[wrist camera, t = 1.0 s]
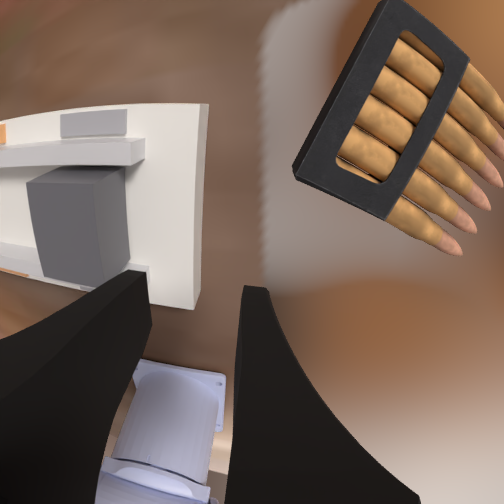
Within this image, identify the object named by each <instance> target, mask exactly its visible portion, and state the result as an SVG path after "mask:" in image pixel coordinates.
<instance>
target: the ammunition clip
mask: <svg viewBox="0 0 504 504" xmlns="http://www.w3.org/2000/svg"><path fill="white" fill-rule="evenodd" d="M469 61H470V58H469V57H468V56H467V55H466V54H465V53H464V52H463V51H462V50H461V49H460V48H459V47H458V46H457V45H456V44H455V43H454V42H453V41H451V39H449V38H448V37H447V36H446V35H445V34H444V33H443V32H442V31H441V30H439V29H438V28H437V27H436V26H435V25H434V24H433V23H431V22H430V21H429V20H428V19H426V18H425V17H424V16H423V15H422V14H420V13H419V12H418V11H417V10H415V9H414V8H413V7H411V6H410V5H409V4H408V3H406V2H405V1H403V0H382V1H380V2H379V3H378V4H377V6H376V8H375V10H374V12H373V14H372V15H371V17H370V19H369V21H368V23H367V25H366V27H365V28H364V31H363V32H362V34H361V36H360V38H359V40H358V42H357V44H356V45H355V47H354V49H353V51H352V53H351V55H350V57H349V59H348V60H347V62H346V64H345V66H344V68H343V70H342V72H341V74H340V76H339V77H338V79H337V81H336V83H335V85H334V87H333V89H332V91H331V93H330V94H329V97H328V98H327V100H326V102H325V104H324V106H323V108H322V110H321V111H320V113H319V115H318V117H317V119H316V121H315V123H314V125H313V127H312V129H311V130H310V132H309V134H308V136H307V138H306V140H305V142H304V144H303V145H302V147H301V149H300V151H299V153H298V155H297V157H296V159H295V161H294V163H293V165H292V168H293V173H294V176H295V178H296V180H298V181H300V182H302V183H305V184H307V185H309V186H311V187H314V188H316V189H318V190H320V191H323V192H325V193H327V194H329V195H331V196H334V197H336V198H338V199H340V200H342V201H344V202H347V203H348V204H351V205H353V206H355V207H357V208H359V209H361V210H363V211H365V212H367V213H369V214H371V215H373V216H375V217H377V218H379V219H381V220H383V221H386V222H387V223H389V224H391V225H393V226H394V227H396V228H398V229H399V230H401V231H403V232H405V233H406V234H408V235H409V236H411V237H413V238H416V239H419V240H422V241H424V242H426V243H428V244H429V245H432V246H434V247H435V248H437V249H439V250H440V251H442V252H444V253H447V254H450V255H453V256H462V250H461V248H460V246H459V245H458V243H457V242H456V241H455V240H454V238H453V237H452V236H451V235H450V234H449V233H447V232H446V231H445V230H443V229H442V228H441V227H440V226H439V225H438V224H437V223H435V222H434V221H433V220H432V219H431V218H430V216H429V215H428V214H427V213H426V212H424V211H423V210H422V209H420V208H419V207H418V206H416V205H415V204H413V203H412V202H410V201H409V200H407V199H406V198H404V197H403V196H401V194H403V195H405V196H406V197H408V198H409V199H411V200H412V201H414V202H415V203H417V204H418V205H420V206H421V207H422V208H424V209H426V210H427V211H429V212H432V213H434V214H437V215H438V216H440V217H441V218H443V219H445V220H446V221H448V222H449V223H451V224H452V225H454V226H455V227H457V228H459V229H461V230H463V231H465V232H468V233H473V234H475V233H477V229H476V226H475V224H474V222H473V220H472V219H471V218H470V216H469V215H468V214H467V213H466V212H465V210H464V209H463V208H461V207H460V206H459V205H458V204H457V203H456V202H455V201H454V200H453V199H452V198H451V197H450V196H449V195H448V194H447V192H446V191H445V190H444V189H443V188H442V187H441V186H440V185H439V184H438V183H437V182H435V181H434V180H433V179H431V178H430V177H429V176H428V175H426V174H425V173H424V172H422V171H421V170H420V169H418V168H417V167H418V166H419V167H420V168H421V169H423V170H424V171H426V172H427V173H428V174H429V175H431V176H432V177H434V178H435V179H436V180H437V181H439V182H440V183H441V184H443V185H445V186H447V187H449V188H451V189H453V190H454V191H455V192H457V193H458V194H459V195H461V196H462V197H464V198H465V199H466V200H467V201H469V202H470V203H471V204H473V205H474V206H477V207H478V208H480V209H483V210H486V211H490V210H491V207H490V203H489V201H488V199H487V197H486V195H485V194H484V193H483V191H482V190H481V189H480V187H479V186H478V185H477V184H476V183H475V182H474V181H473V180H472V179H471V178H470V176H469V175H468V174H467V173H465V171H464V170H463V169H462V167H461V166H460V164H459V163H458V162H457V161H456V160H455V159H454V158H453V157H452V156H451V155H449V154H448V153H447V152H446V151H445V150H444V149H442V148H441V147H440V146H439V145H438V144H436V143H435V142H434V141H433V140H432V139H434V140H435V141H437V142H438V143H439V144H440V145H441V146H442V147H444V148H445V149H446V150H447V151H449V152H450V153H451V154H452V155H453V156H454V157H456V158H457V159H458V160H460V161H462V162H464V163H465V164H467V165H468V166H469V167H470V168H472V169H473V170H474V171H476V172H477V173H478V174H479V175H480V176H481V177H482V178H483V179H485V180H486V181H487V182H489V183H490V184H492V185H494V186H496V187H498V188H503V182H502V179H501V177H500V175H499V173H498V171H497V169H496V168H495V167H494V165H493V164H492V162H491V161H490V160H489V159H488V158H487V157H486V156H485V154H484V153H483V152H482V151H481V150H480V148H479V147H478V146H477V144H476V143H475V141H474V140H473V139H472V137H471V136H470V135H469V134H468V133H467V132H466V131H465V130H464V129H463V128H462V127H461V126H463V127H464V128H465V129H466V130H467V131H468V132H470V133H471V134H473V135H474V136H476V137H477V138H478V139H479V140H480V141H482V142H483V143H484V144H485V145H486V146H487V147H488V148H489V149H490V150H491V151H492V152H493V153H494V154H496V155H497V156H498V157H499V158H500V159H502V160H503V161H504V139H503V138H502V137H501V135H500V134H499V133H498V132H497V130H496V129H495V128H494V126H493V125H492V124H491V123H490V121H489V120H488V118H487V117H486V115H485V114H484V112H483V111H482V110H481V109H483V110H484V111H486V112H487V113H488V114H490V116H491V117H492V118H493V119H494V120H495V121H497V122H498V123H499V124H500V126H501V127H502V128H503V129H504V103H503V102H502V100H501V99H500V97H499V96H498V94H497V92H496V91H495V89H494V88H493V87H492V86H491V85H490V84H489V83H488V82H487V80H486V79H485V78H484V77H483V76H482V75H481V74H480V73H479V72H478V71H477V70H476V69H475V68H474V67H473V66H472V65H471V64H470V63H469ZM390 69H391V70H390ZM393 71H394V72H393ZM396 73H397V74H396ZM399 75H400V76H401V77H400V76H399ZM403 78H404V79H403ZM406 80H407V81H408V82H407V81H406ZM410 83H411V84H412V85H411V84H410ZM414 86H415V87H416V88H417V89H416V88H415V87H414ZM369 94H371V95H372V96H374V97H375V98H377V99H379V100H380V101H382V102H383V103H385V104H386V105H388V106H389V107H391V108H392V109H394V110H395V111H397V112H398V113H399V114H401V115H402V116H404V118H403V117H402V116H400V115H399V114H397V113H396V112H395V111H393V110H392V109H390V108H389V107H387V106H386V105H384V104H383V103H382V102H380V101H379V100H377V99H375V98H374V97H372V96H371V95H369ZM477 105H478V106H479V107H480V108H481V109H480V108H479V107H478V106H477ZM446 112H447V113H448V114H449V115H450V116H452V117H453V118H454V119H455V120H456V121H457V122H458V123H459V124H460V125H461V126H460V125H459V124H458V123H456V121H454V120H453V119H452V118H451V117H450V116H449V115H448V114H447V113H446ZM353 124H355V125H356V126H358V127H360V128H361V129H363V130H365V131H366V132H368V133H370V134H371V135H373V136H374V137H376V138H378V139H379V140H381V141H382V142H384V143H385V144H387V145H388V147H387V146H386V145H384V144H383V143H381V142H380V141H378V140H377V139H375V138H374V137H372V136H371V135H369V134H367V133H366V132H364V131H363V130H361V129H359V128H358V127H356V126H354V125H353ZM337 155H338V156H340V157H342V158H344V159H345V160H347V161H349V162H350V163H352V164H354V165H356V166H358V167H359V168H361V169H363V170H364V171H366V172H368V173H369V174H366V173H365V172H363V171H362V170H360V169H358V168H357V167H355V166H353V165H352V164H350V163H348V162H346V161H345V160H343V159H341V158H339V157H338V156H337Z"/></svg>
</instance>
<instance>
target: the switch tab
mask: <svg viewBox="0 0 504 504" xmlns="http://www.w3.org/2000/svg"><path fill="white" fill-rule="evenodd" d="M26 188H27V196H28V203H29V209H30V216H31V221H32V227H33V232H34V237H35V242H36V246H37V251H38V255H39V259H40V263H41V267H42V271H43V275H44V277H47V278H52V279H56V280H61V281H65V282H70V283H75V284H79V285H84V286H89V287H94V288H97V287H99V286H100V285H102V284H103V283H105V282H107V281H108V280H110V279H112V278H113V277H115V276H117V275H118V274H119V273H120V271H121V270H122V269H123V267H124V266H125V265H126V264H127V262H128V261H129V260H130V249H129V238H128V225H127V210H126V190H125V167H116V166H61V167H59V168H56V169H54V170H52V171H50V172H47V173H45V174H43V175H41V176H39V177H37V178H34V179H32V180H30V181H28V182H26Z"/></svg>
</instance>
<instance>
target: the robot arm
mask: <svg viewBox="0 0 504 504" xmlns="http://www.w3.org/2000/svg"><path fill="white" fill-rule="evenodd" d="M151 327H152V319H151V311H150V303H149V294H148V284H147V274H146V272H143V271H136V270H129V269H128V270H126V271H124V272H122V273H120V274H118V275H117V276H115V277H113V278H112V279H110V280H108V281H107V282H105V283H103V284H102V285H100V286H99V287H97V288H96V289H94V290H92V291H91V292H89V293H87V294H86V295H84V296H83V297H81V298H80V299H78V300H76V301H75V302H73V303H71V304H70V305H68V306H66V307H64V308H63V309H61V310H59V311H57V312H56V313H54V314H52V315H51V316H49V317H47V318H45V319H44V320H42V321H40V322H38V323H36V324H34V325H32V326H30V327H28V328H26V329H24V330H22V331H19V332H17V333H15V334H13V335H11V336H8V337H6V338H3V339H0V504H219V503H218V500H217V499H215V498H211V497H209V494H210V487H207V486H206V479H207V474H208V469H209V463H210V457H211V451H212V445H213V439H214V433H215V432H221V431H222V430H223V419H224V403H225V387H226V376H225V375H224V374H222V373H216V372H210V371H203V370H197V369H191V368H185V367H179V366H174V365H169V364H163V363H158V362H153V361H149V360H144V359H140V358H141V356H142V354H143V352H144V349H145V346H146V343H147V340H148V337H149V333H150V330H151ZM132 376H133V380H134V383H135V386H136V392H135V395H134V397H133V400H132V402H131V405H130V407H129V410H128V413H127V415H126V418H125V420H124V423H123V426H122V428H121V431H120V434H119V436H118V439H117V442H116V445H115V447H114V450H113V453H112V456H111V458H110V457H107V456H105V458H104V461H103V464H102V465H101V463H102V459H103V455H104V451H105V447H106V443H107V439H108V436H109V432H110V429H111V425H112V422H113V419H114V416H115V414H116V411H117V409H118V406H119V404H120V402H121V400H122V397H123V395H124V393H125V391H126V389H127V386H128V384H129V382H130V380H131V378H132ZM224 504H421V501H420V497H419V495H417V494H416V493H415V492H413V491H412V490H410V489H409V488H408V487H407V486H406V485H404V484H403V483H402V482H400V481H399V480H398V479H397V478H396V477H394V476H393V475H392V474H391V473H390V472H389V471H387V470H386V469H385V468H384V467H383V466H381V464H380V463H378V461H376V460H375V459H374V458H373V457H372V456H371V455H370V454H369V453H368V452H367V451H366V450H365V449H364V448H363V447H362V446H361V445H360V444H359V443H358V442H357V440H356V439H355V438H354V437H353V436H352V435H351V434H350V433H349V431H348V430H347V429H346V428H345V427H344V426H343V425H342V423H341V422H340V421H339V420H338V419H337V418H336V417H335V415H334V414H333V413H332V411H331V410H330V409H329V407H328V406H327V405H326V404H325V402H324V401H323V400H322V398H321V397H320V395H319V394H318V392H317V391H316V390H315V388H314V387H313V385H312V384H311V382H310V381H309V379H308V378H307V376H306V374H305V373H304V371H303V369H302V368H301V366H300V364H299V363H298V360H297V359H296V357H295V355H294V353H293V351H292V350H291V348H290V346H289V344H288V342H287V339H286V337H285V335H284V333H283V331H282V329H281V326H280V324H279V322H278V319H277V316H276V314H275V311H274V308H273V306H272V302H271V299H270V295H269V291H268V290H267V289H266V288H264V287H255V286H247V285H244V288H243V293H242V298H241V308H240V318H239V328H238V338H237V348H236V359H235V373H234V409H233V438H232V447H231V455H230V463H229V471H228V479H227V487H226V495H225V502H224Z"/></svg>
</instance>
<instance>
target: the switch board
mask: <svg viewBox="0 0 504 504" xmlns="http://www.w3.org/2000/svg"><path fill="white" fill-rule="evenodd" d="M208 112H209V104H191V103H146V104H122V105H106V106H94V107H84V108H75V109H66V110H59V111H52V112H45V113H39V114H33V115H28V116H22V117H17V118H12V119H8V120H3V121H0V270H1V271H4V272H8V273H12V274H16V275H19V276H23V277H27V278H31V279H35V280H39V281H44V282H48V283H52V284H56V285H61V286H65V287H70V288H74V289H79V290H84V291H88V292H91V291H92V290H94V289H96V288H94V287H89V286H84V285H79V284H75V283H70V282H65V281H61V280H56V279H52V278H47V277H44V275H43V271H42V267H41V263H40V259H39V255H38V251H37V246H36V242H35V237H34V232H33V227H32V221H31V216H30V209H29V203H28V196H27V188H26V182H28V181H30V180H32V179H34V178H37V177H39V176H41V175H43V174H45V173H47V172H50V171H52V170H54V169H56V168H59V167H61V166H116V167H125V190H126V210H127V225H128V238H129V249H130V260H129V261H128V262H127V264H126V265H125V266H124V267H123V269H122V270H121V271H120V273H122V272H124V271H126V270H128V269H129V270H136V271H143V272H146V274H147V284H148V294H149V303H152V304H158V305H164V306H170V307H176V308H183V309H189V310H194V308H195V305H196V302H197V299H198V296H199V294H200V291H201V241H202V211H203V189H204V170H205V153H206V138H207V125H208ZM120 273H119V274H120Z"/></svg>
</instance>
